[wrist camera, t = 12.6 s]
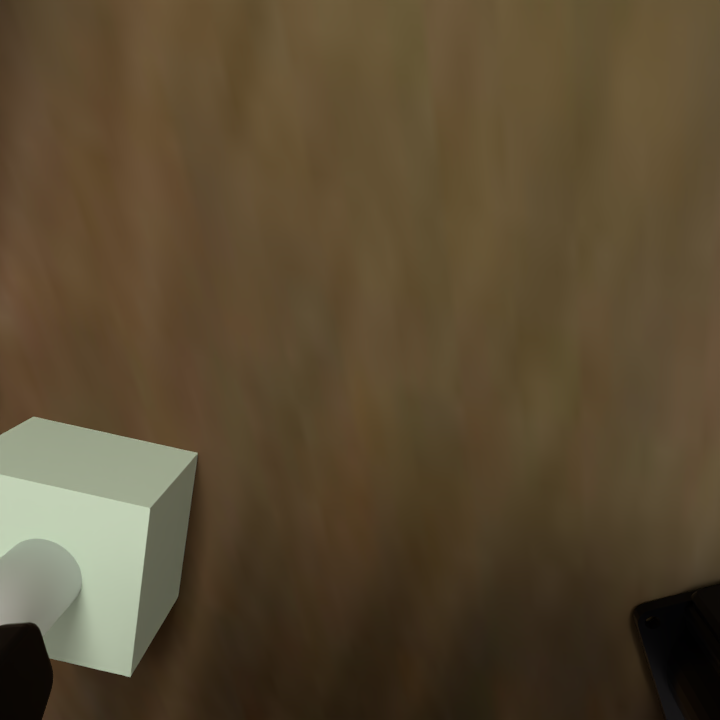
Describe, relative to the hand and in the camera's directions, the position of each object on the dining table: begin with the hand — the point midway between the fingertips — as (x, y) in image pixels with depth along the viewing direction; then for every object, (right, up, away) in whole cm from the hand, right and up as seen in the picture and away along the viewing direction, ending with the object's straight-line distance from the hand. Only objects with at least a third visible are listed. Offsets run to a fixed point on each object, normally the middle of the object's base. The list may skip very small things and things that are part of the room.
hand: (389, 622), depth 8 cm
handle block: (-10, -2, +14) cm, 17 cm away
